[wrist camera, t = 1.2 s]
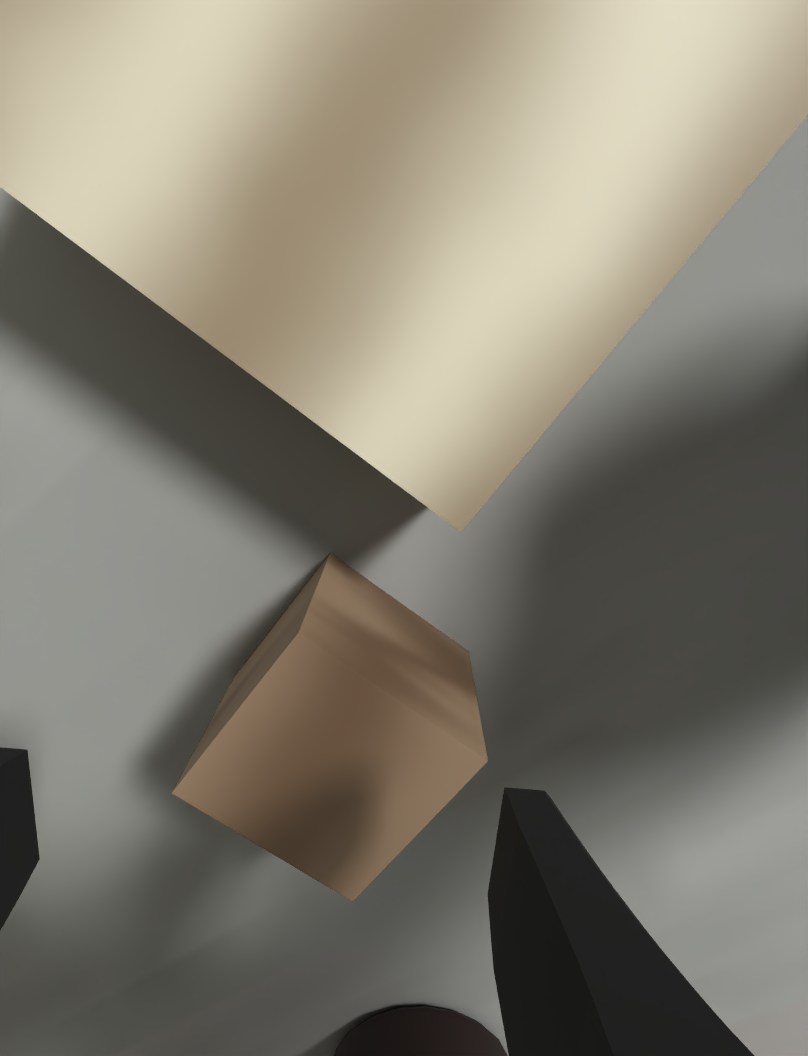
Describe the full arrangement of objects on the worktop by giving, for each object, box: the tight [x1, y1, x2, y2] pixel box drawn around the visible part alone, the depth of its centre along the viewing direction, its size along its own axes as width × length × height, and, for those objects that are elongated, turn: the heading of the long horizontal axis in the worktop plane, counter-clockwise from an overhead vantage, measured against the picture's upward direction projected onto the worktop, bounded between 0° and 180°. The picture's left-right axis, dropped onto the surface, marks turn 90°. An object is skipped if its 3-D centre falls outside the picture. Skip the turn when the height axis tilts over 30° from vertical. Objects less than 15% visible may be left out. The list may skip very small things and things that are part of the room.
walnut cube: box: [172, 553, 488, 902], centre depth 16 cm, size 5×5×5 cm
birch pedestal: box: [0, 0, 808, 532], centre depth 12 cm, size 12×12×4 cm
